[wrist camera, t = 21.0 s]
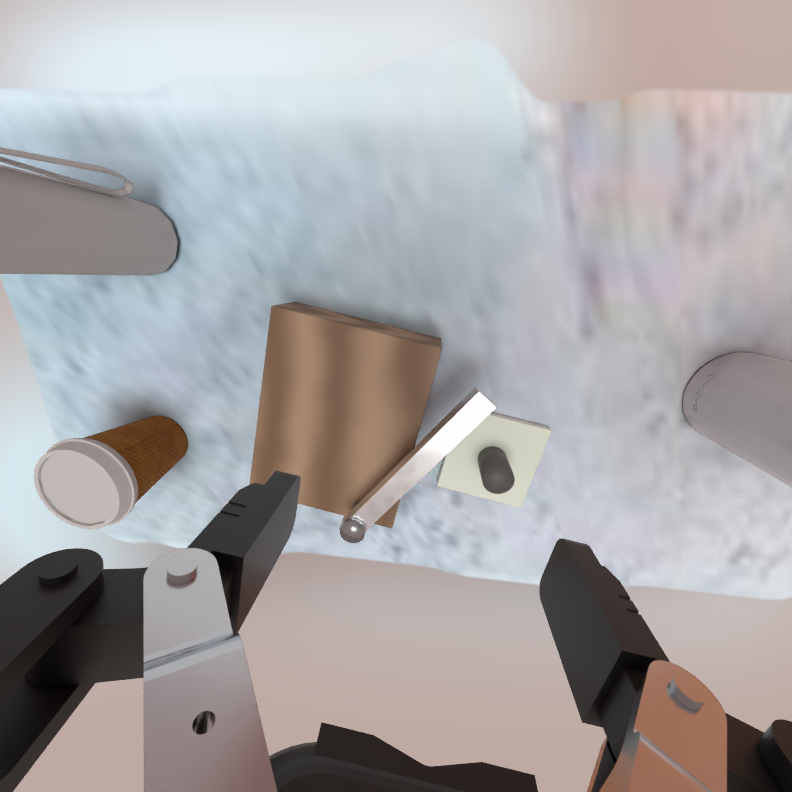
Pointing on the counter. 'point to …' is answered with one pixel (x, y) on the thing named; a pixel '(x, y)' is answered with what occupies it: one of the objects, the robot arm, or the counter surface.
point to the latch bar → (417, 464)
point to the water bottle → (77, 224)
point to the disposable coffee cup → (107, 470)
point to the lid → (496, 459)
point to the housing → (339, 403)
